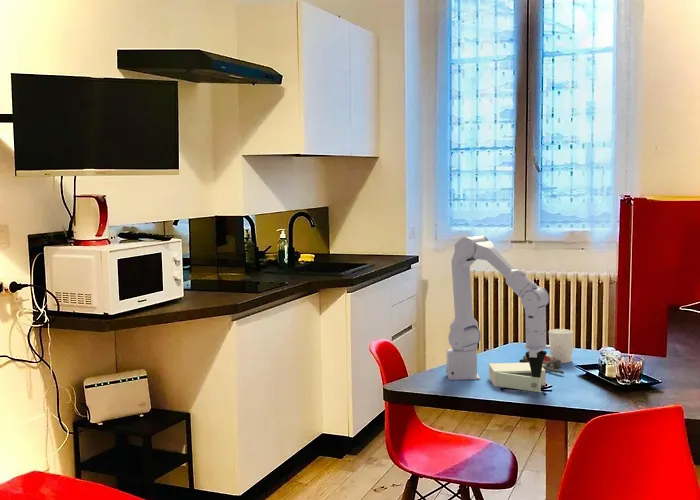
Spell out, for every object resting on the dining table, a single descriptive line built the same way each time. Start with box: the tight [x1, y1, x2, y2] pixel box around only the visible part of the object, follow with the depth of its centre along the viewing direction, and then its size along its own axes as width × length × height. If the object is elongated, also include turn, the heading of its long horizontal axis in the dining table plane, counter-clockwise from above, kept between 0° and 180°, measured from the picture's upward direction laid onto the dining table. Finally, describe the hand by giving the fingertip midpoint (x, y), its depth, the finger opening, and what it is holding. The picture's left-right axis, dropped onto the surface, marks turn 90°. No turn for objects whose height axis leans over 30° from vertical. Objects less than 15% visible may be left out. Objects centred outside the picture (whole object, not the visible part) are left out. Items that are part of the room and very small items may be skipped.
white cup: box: [548, 328, 574, 364], centre depth 253 cm, size 8×8×10 cm
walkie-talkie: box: [518, 353, 565, 375], centre depth 244 cm, size 9×4×20 cm
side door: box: [496, 372, 542, 393], centre depth 219 cm, size 13×2×4 cm, turn 53°
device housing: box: [488, 362, 547, 387], centre depth 229 cm, size 15×10×4 cm
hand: (536, 376), depth 219 cm, fingers closed
